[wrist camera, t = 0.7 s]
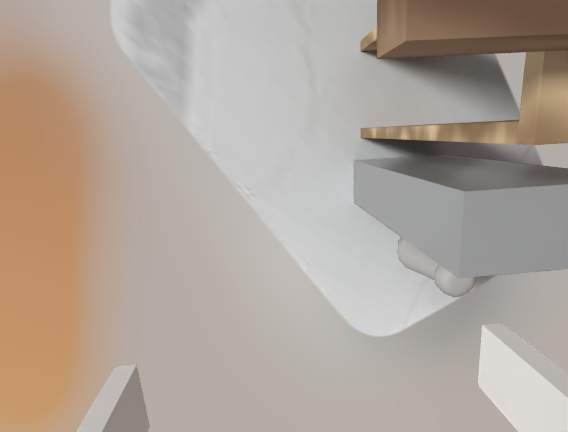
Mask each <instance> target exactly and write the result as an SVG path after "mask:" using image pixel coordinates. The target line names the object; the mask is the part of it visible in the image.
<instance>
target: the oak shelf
mask: <svg viewBox="0 0 568 432" xmlns="http://www.w3.org/2000/svg"><path fill="white" fill-rule="evenodd" d="M361 51H377V27H376V28H375V29H374V30H373V31H371V32H370V33H369V34H368V35H367V36H366V37H365V38H364V39H362V40H361ZM361 138H381V139H404V140H428V141H452V142H475V143H499V144H523V145H542V144H556V143H557V144H558V143H568V50H561V51H539V52H526V60H525V69H524V79H523V88H522V97H521V107H520V117H519V120H509V121H489V122H470V123H450V124H431V125H414V126H396V127H379V128H362V129H361Z"/></svg>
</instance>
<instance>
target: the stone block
mask: <svg viewBox="0 0 568 432" xmlns="http://www.w3.org/2000/svg"><path fill="white" fill-rule="evenodd" d="M354 203H355V204H356V205H357V206H359V207H360V208H362V209H363V210H364V211H366V212H367V213H368V214H370V215H371V216H373V217H374V218H375V219H377V220H378V221H380V222H381V223H382V224H384V225H385V226H387V227H388V228H389V229H391V230H392V231H393V232H395V233H396V234H398V235H399V236H400V237H402V238H403V239H405V240H406V241H407V242H409V243H410V244H412V245H413V246H414V247H416V248H417V249H419V250H420V251H421V252H423V253H424V254H425V255H427V256H428V257H430V258H431V259H432V260H434V261H435V262H437V263H438V264H439V265H441V266H442V267H444V268H445V269H446V270H448V271H449V272H451V273H452V274H453V275H455V276H456V277H457V278H468V277H480V276H492V275H503V274H514V273H527V272H538V271H550V270H561V269H568V169H567V168H558V167H549V166H541V165H532V164H523V163H514V162H505V161H497V160H488V159H479V158H470V157H461V156H453V155H432V156H416V157H400V158H385V159H369V160H354Z"/></svg>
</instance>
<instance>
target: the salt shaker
mask: <svg viewBox="0 0 568 432" xmlns="http://www.w3.org/2000/svg"><path fill="white" fill-rule="evenodd" d="M397 253H398V257H399V260H400V262H401V263H402V264H403V265H404V266H405V267H406V268H408V269H411V270H413V271H415V272H418V273H420V274H422V275H425V276H427V277H429V278H431V279H433V280H435V284H436V285H437V286H438V288H439V289H440V290H441V291H442V292H443V293H445V294H447V295H450V296H453V297H458V296H463V295H464V294H466V293H468V292H469V291H470V290H471V289H472V288H473V286H474V284H475V281H476V277H468V278H457V277H456V276H455V275H453V274H452V273H451V272H449V271H448V270H446V269H445V268H444V267H442V266H441V265H439V264H438V263H437V262H435V261H434V260H432V259H431V258H430V257H428V256H427V255H425V254H424V253H423V252H421V251H420V250H419V249H417V248H416V247H414V246H413V245H412V244H410V243H409V242H407V241H406V240H405V239H403V238H401V239H400V240H399V241H398V250H397Z"/></svg>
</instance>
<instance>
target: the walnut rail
mask: <svg viewBox="0 0 568 432" xmlns="http://www.w3.org/2000/svg"><path fill="white" fill-rule="evenodd" d="M561 50H568V0H377V59H383V58H405V57H427V56H449V55H472V54H494V53H514V52H515V53H516V52H539V51H561Z"/></svg>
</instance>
